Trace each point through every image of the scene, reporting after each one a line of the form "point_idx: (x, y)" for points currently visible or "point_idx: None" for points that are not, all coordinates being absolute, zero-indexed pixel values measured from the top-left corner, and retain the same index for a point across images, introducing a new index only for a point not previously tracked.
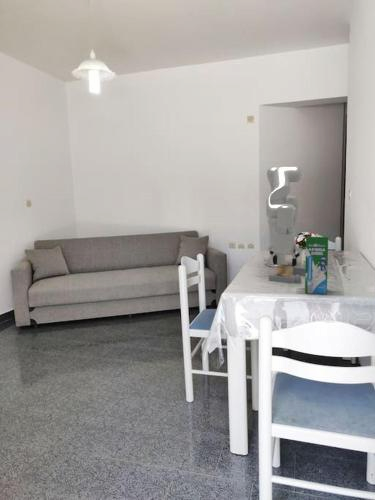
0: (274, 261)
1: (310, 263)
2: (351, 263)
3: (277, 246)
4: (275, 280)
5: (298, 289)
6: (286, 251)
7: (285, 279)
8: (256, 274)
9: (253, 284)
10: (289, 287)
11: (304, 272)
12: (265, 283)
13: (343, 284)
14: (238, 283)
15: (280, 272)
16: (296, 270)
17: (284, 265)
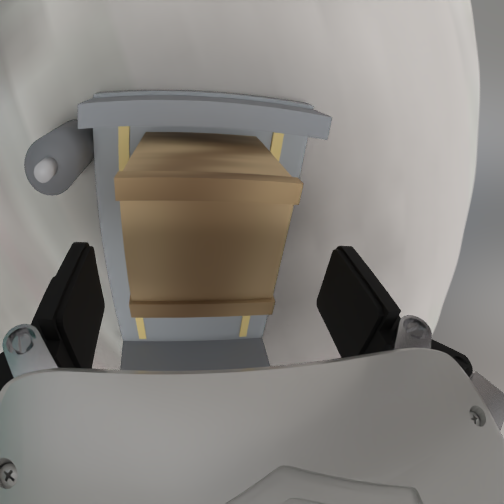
0: (355, 270)
1: None
2: None
3: (458, 497)
4: (255, 101)
5: (28, 18)
6: (126, 446)
7: (152, 97)
8: (400, 287)
9: (390, 24)
10: (99, 26)
11: (132, 359)
12: (324, 72)
13: None
14: (463, 43)
15: (226, 156)
16: (184, 365)
17: (222, 290)
